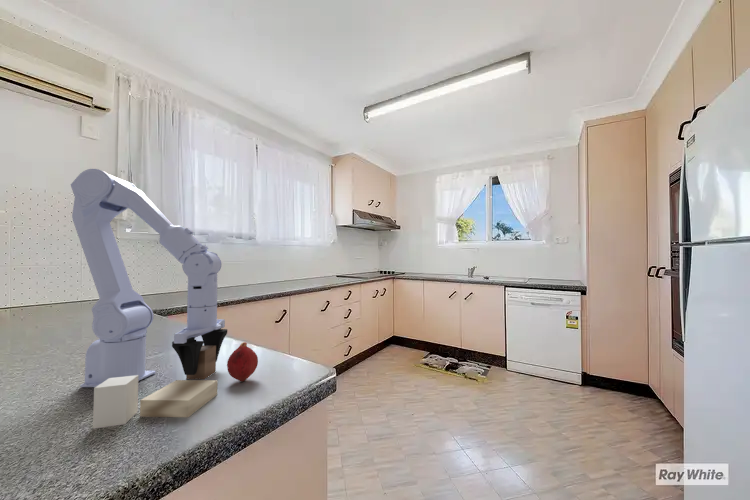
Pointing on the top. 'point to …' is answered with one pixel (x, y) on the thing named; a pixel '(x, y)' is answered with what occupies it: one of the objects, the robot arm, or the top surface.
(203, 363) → the walnut block
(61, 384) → the top surface
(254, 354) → the onion
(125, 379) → the offwhite block
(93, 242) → the robot arm
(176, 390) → the beech slab
